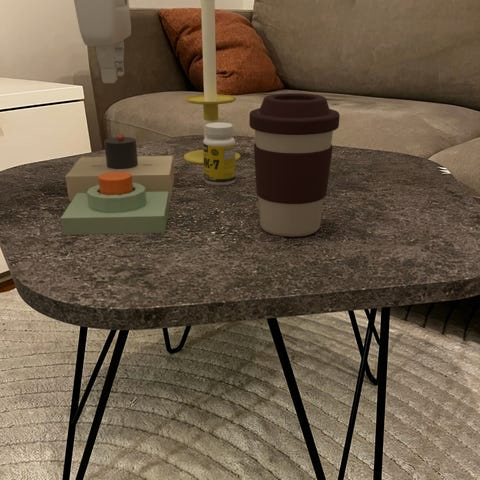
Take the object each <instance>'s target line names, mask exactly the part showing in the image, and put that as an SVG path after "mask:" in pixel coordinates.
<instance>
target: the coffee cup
mask: <svg viewBox="0 0 480 480" xmlns="http://www.w3.org/2000/svg"><path fill="white" fill-rule="evenodd" d="M340 116H341V115H340V112H339V111H337V110H335V109H332V108H330V106H329V103H328V100H327V98H326V97H325V96H323V95H320V94H313V93H303V92H286V93H285V92H284V93H274V94H268V95H266V96H265V97H264V98H263V100H262V102H261V105H260V107H259V108H255V109H252V110H250V112H249V120H248V121H249V127H250V128H251V129H253V130H254V136H255V143H254V145H253V157H254V158H253V159H254V169H255V170H254V174H255V189H256V190H255V191H256V195H257V196H258V211H259V213H258V214H259V225H260V228H261V229H262V230H263V231H265V232H266V233H268V234H270V235H273V236H277V237H278V236H279V237H284V238H285V237H286V238H297V237H299V238H300V237H306V236H310V235H312V234H315V233H316V232H317V231H319V229H320V228H321V223H322V216H323V210H324V209H323V208H324V201H325V198H326V196H327V194H328V193H327V192H328V185H329V179H330V170H331V163H332V155H333V149H334V147H333V144H332V141H333V134H334V131H336V130H338V129H339V127H340Z"/></svg>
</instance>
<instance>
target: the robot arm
mask: <svg viewBox="0 0 480 480" xmlns="http://www.w3.org/2000/svg"><path fill="white" fill-rule="evenodd" d="M73 3H74V9H75V14H76V19H77V23H78V24H77V25H78V28H79V33H80V36H81V39H82V42H83V44H84V45H85V46H87V47H95V54H96V57H97V62H98V65H99V68H100V74H101V81H102V83H104V84H115V83H116V82H117V81H118V77H123V75H124V74H125V64H124V62H125V61H124V60H125V41H124V40H126V39H128V38H129V37H131V35H132V21H131V20H132V19H131V12H130V11H131V10H130V1H129V0H73Z"/></svg>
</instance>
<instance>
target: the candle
mask: <svg viewBox="0 0 480 480" xmlns="http://www.w3.org/2000/svg"><path fill="white" fill-rule="evenodd" d="M215 1H216V0H200V11H201V12H200V13H201V14H200V15H201V41H202V42H201V43H202V44H201V45H202V71H203V72H202V73H203V74H202V75H203V76H202V77H203V94H194V95H189V96H187V97H185V98H184V99H185V102H186V103H189V104H192V105H203V106H202V108H203V109H202V110H203V131H204V132H203V136H204V137H203V138H204V139H205V138H206V137H207V136H206V135H205V134H206V133H205V125H206V124H209V123H219V105H225V104H231V103H234V102H235V101H237V98H236V96H233V95H230V94H218V93H217V89H218V88H217V51H216V50H217V47H216V45H217V44H216V6H215V4H216V3H215ZM204 139H203V140H204ZM183 159H184V161H186V162H189V163H192V164H198V165H204V154H203V149H196V150H191V151H188V152H187V153H185V154H183ZM240 159H241V154H240V153H239V152H237V151H235V162H236V161H239V160H240Z"/></svg>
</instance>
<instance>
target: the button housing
mask: <svg viewBox="0 0 480 480" xmlns="http://www.w3.org/2000/svg"><path fill="white" fill-rule="evenodd" d="M132 184H133V192H130V193H127V194H122V195H105V194H100V188H99V185H96V186H94V187H91V188H89V190H88V191H87V193H77V194H76V195H75V197H74V198H73V200H72V201H70V203H69V205H68V206H67V207H66V209H65V210H64V211H63V214H62V215H61V216H60V223H61V231H62V235H63V236H80V235H81V236H83V235H86V236H87V235H123V234H124V235H125V234H127V235H128V234H165V233H166V231H167V226H168V225H167V224H168V220H169V214H170V209H171V208H170V206H171V205H170V199H169V192H168V191H166V192H146V189H145V187H144V186H142V185H140V184H138V183H132Z"/></svg>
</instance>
